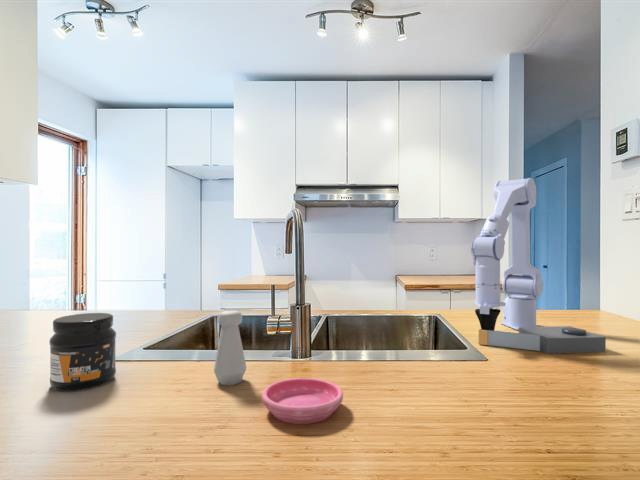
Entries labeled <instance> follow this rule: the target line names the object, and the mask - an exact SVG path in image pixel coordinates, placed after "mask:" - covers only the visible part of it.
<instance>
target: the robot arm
mask: <svg viewBox="0 0 640 480" xmlns="http://www.w3.org/2000/svg"><path fill="white" fill-rule="evenodd" d="M493 195H494V196H493V198H494V200H495V206H494V209H493V212H492V214H491V215H489V216H487V218H486V219H485V222H484V225H483V227H482V229H481V232H480V234H479V235H478V236H477V237H476V238H474V239H473V240H472V242H471V246H470V251H471V252H470V253H471V256H472V263H473V266H474V267H475V272H474V274H475V300H474V305H475V306H477V307H478V308H476V309H474V312H475V315H476V318H477V319H478V322H479V324H480V325H479V326H480V329H483V330H493V331H495V330H496V329H495V328H496V324H497V319H498V317H499V315H500V314H501V309H498V308H499V307H502V321H500V324H501V325H504V326H506V327H509V328H511V329H514V330H516V331H519V327H540V326H538V325H537V299H538V298H540V297H541V296H542V294H543V291H544V282H543V277H542V271H541V270H539V269H538V268H536V267H535V266H533V265H532V264H531V227H530V225H531V224H530V221H531V219H530V218H531V216H530V214H531V209H532V208H534V207H536V206H537V186H536V182H535V180H534V179H533V177H528V178H521V179H511V180H498V181H496V183H495V184H494V187H493ZM510 214H511V261H512V263H511V265H509V266H508V267H507V268H506V269H505V270H504V272H503V278H502V283H501V259H503V257H504V255H505V245H506V241H505V238H506V235H507V232H508V230H509V226H510V222H509V220H508V218H509V216H510ZM501 287H502V291H503V293H504V294H505V295H506V297H505V299H504V300H503V301H501Z"/></svg>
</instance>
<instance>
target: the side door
mask: <svg viewBox="0 0 640 480" xmlns="http://www.w3.org/2000/svg"><path fill="white" fill-rule="evenodd" d="M478 345H483V346H494V347H495V346H496V347H503V348H512V349H520V350H529V351H536V352H538V351H539V352H541V350H540V335H532V334H522V333H519V332H510V331H503V330H502V331H501V330H500V331H499V330H494V331H493V330H483V329H481V328H479V329H478Z"/></svg>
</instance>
